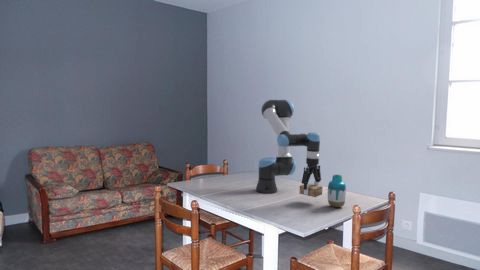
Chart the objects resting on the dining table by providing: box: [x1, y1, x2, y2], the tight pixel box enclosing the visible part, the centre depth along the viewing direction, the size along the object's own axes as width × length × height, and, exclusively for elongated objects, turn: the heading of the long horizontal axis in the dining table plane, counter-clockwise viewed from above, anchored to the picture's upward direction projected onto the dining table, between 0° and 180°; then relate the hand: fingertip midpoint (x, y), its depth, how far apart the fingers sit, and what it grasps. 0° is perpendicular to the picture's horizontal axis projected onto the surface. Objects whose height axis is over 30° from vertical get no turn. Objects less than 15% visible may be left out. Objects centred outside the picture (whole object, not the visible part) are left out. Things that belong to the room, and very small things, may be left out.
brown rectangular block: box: [298, 183, 323, 198], centre depth 224 cm, size 11×9×5 cm
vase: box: [327, 174, 347, 208], centre depth 217 cm, size 11×11×19 cm
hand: (310, 193), depth 224 cm, fingers closed on brown rectangular block, 9 cm apart
